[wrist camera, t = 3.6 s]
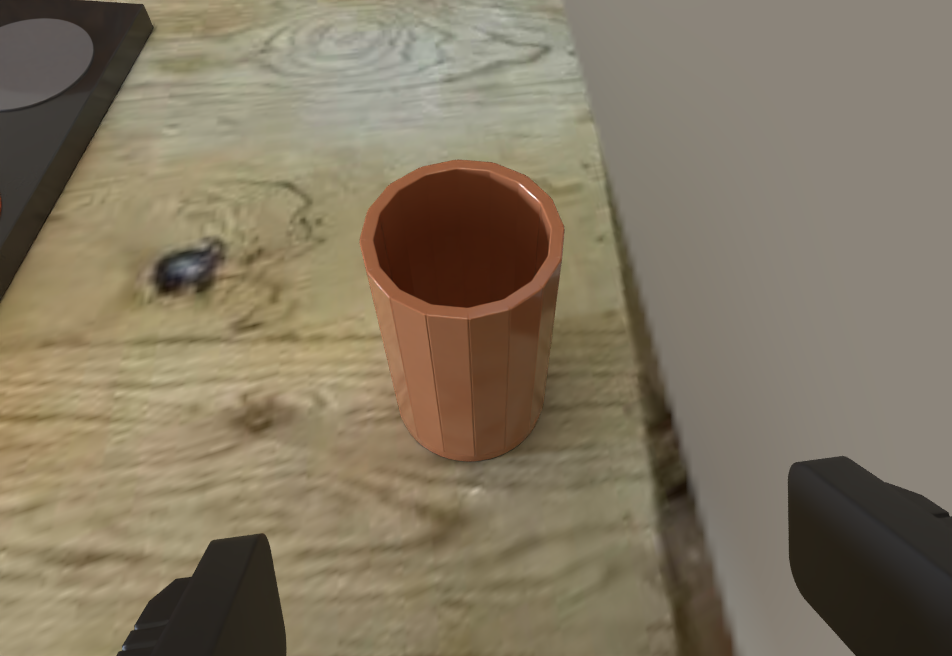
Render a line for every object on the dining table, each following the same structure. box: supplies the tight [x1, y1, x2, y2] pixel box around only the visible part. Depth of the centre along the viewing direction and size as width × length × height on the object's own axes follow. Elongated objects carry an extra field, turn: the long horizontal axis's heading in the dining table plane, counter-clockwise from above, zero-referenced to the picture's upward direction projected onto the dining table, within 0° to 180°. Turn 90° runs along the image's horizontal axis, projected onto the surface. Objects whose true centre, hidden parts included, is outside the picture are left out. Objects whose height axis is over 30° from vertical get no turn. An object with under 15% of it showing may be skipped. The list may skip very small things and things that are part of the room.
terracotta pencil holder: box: [360, 160, 565, 461], centre depth 26 cm, size 6×6×10 cm
